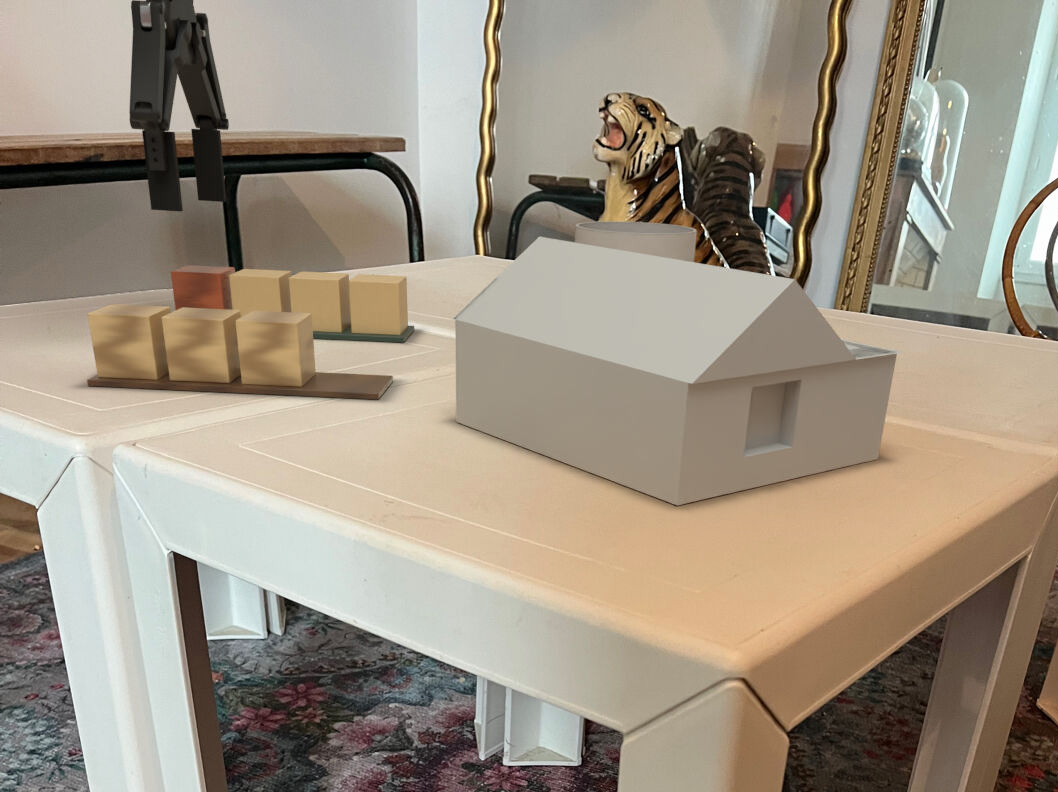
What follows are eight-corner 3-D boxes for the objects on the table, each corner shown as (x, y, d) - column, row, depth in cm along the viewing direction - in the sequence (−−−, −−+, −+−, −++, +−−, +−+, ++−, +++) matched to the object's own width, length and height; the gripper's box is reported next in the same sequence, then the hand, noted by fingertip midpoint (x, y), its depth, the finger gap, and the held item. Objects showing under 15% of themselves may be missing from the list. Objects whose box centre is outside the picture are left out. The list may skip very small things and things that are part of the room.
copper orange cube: (177, 324, 114) (170, 271, 112) (193, 316, 119) (186, 265, 116) (225, 326, 114) (220, 273, 112) (239, 318, 119) (234, 267, 116)
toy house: (454, 420, 86) (452, 239, 80) (651, 391, 98) (663, 231, 92) (680, 506, 70) (700, 286, 63) (885, 459, 82) (920, 269, 75)
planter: (611, 345, 116) (617, 234, 111) (550, 324, 126) (553, 222, 120) (710, 338, 122) (721, 232, 117) (645, 319, 131) (652, 220, 126)
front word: (87, 386, 92) (75, 315, 89) (120, 368, 98) (109, 301, 95) (378, 399, 92) (375, 328, 89) (393, 381, 98) (390, 314, 95)
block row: (168, 331, 114) (160, 273, 111) (190, 320, 120) (184, 264, 117) (403, 342, 113) (401, 284, 111) (414, 330, 119) (412, 275, 117)
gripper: (156, -76, 89) (186, 217, 100) (245, -38, 111) (262, 199, 122) (63, -81, 90) (103, 212, 100) (170, -43, 111) (194, 195, 122)
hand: (190, 205), depth 111 cm, fingers open, 13 cm apart
